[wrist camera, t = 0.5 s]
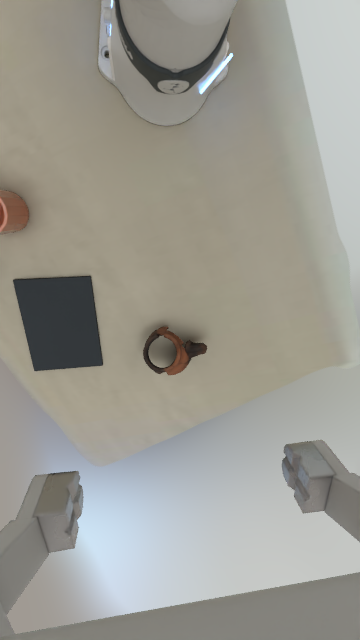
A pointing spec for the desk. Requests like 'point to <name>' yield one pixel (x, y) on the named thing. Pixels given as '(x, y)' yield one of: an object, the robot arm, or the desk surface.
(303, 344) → the desk surface
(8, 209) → the pot
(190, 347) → the dark brown domed piece
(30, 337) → the mat
